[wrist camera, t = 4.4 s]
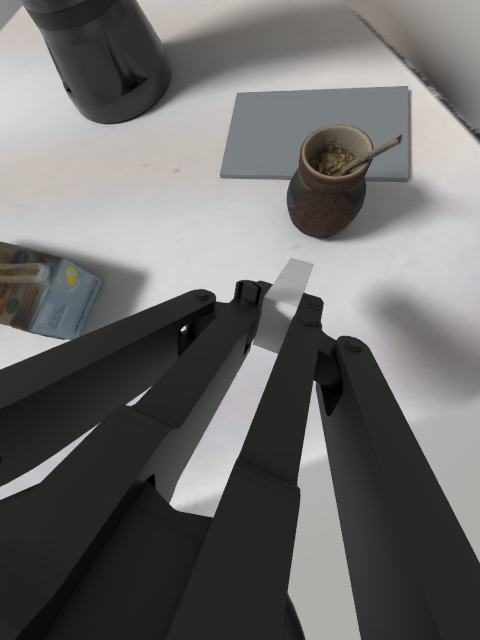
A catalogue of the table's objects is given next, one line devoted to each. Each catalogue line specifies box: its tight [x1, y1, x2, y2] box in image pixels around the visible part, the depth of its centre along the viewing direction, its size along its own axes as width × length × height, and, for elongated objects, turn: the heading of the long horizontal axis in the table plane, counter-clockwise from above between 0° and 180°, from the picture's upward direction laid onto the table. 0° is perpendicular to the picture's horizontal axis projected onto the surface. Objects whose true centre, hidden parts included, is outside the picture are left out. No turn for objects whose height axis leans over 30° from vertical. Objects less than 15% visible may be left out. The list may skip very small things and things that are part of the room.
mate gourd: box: [287, 123, 402, 238], centre depth 22 cm, size 7×8×10 cm
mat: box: [220, 86, 409, 182], centre depth 29 cm, size 13×20×1 cm, turn 81°
